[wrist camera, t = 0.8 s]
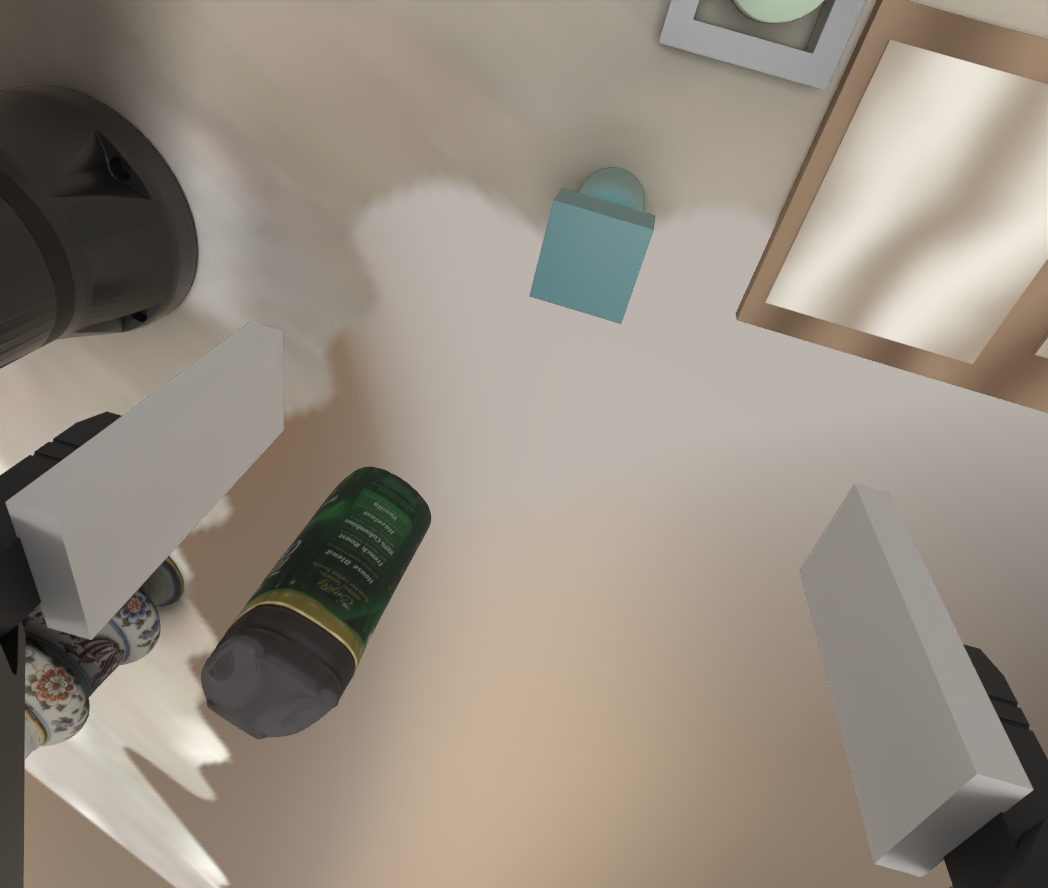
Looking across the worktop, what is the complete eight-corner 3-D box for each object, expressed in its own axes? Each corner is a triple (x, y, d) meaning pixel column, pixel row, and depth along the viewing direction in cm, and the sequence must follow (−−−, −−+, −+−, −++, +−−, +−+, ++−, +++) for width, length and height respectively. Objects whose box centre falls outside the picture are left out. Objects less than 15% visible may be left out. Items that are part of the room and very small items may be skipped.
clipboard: (735, 313, 39) (737, 323, 37) (879, -5, 30) (888, -6, 28) (1065, 412, 38) (1078, 425, 37) (1315, 117, 29) (1344, 121, 28)
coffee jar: (368, 445, 49) (230, 634, 34) (449, 508, 51) (352, 713, 36) (310, 512, 54) (167, 702, 39) (385, 566, 56) (276, 769, 41)
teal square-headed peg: (565, 229, 38) (529, 296, 29) (585, 154, 36) (553, 200, 26) (634, 249, 38) (621, 324, 28) (659, 175, 35) (653, 229, 26)
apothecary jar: (53, 529, 62) (-141, 686, 48) (144, 510, 58) (-37, 675, 44) (130, 618, 68) (-23, 783, 53) (218, 605, 64) (79, 781, 49)
